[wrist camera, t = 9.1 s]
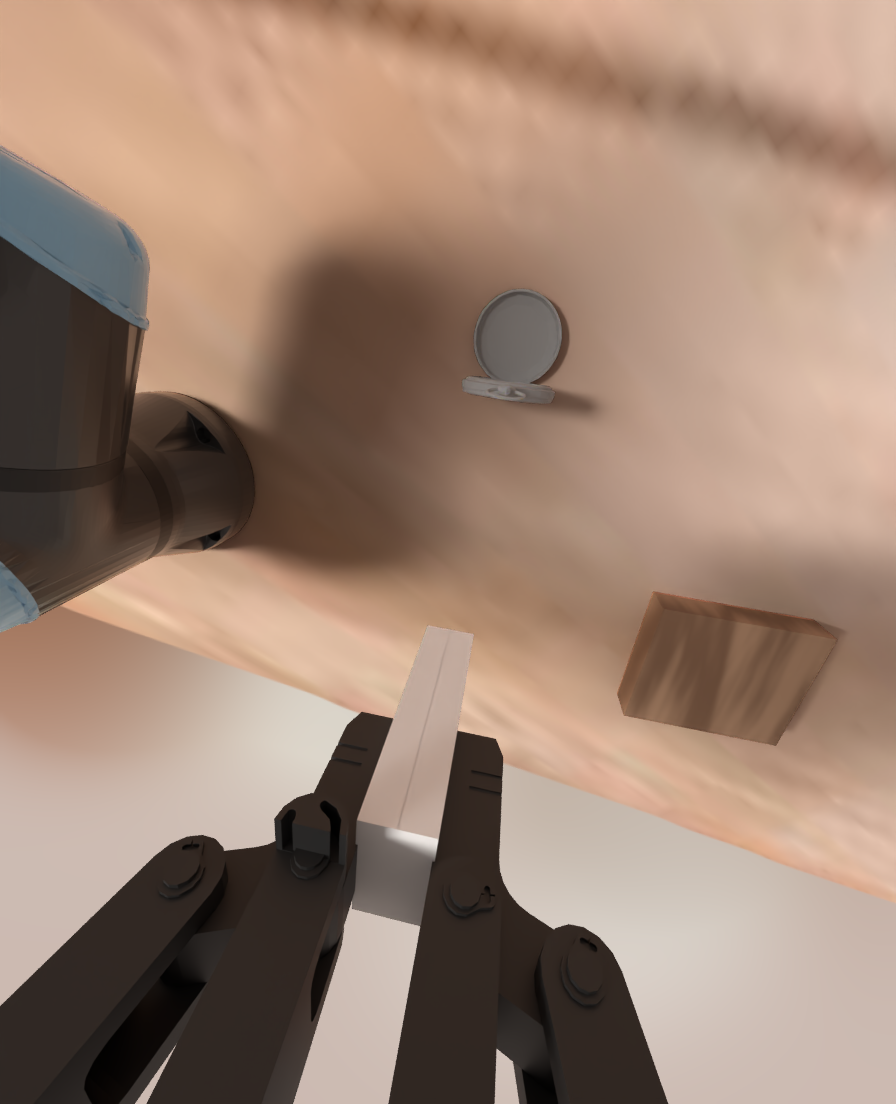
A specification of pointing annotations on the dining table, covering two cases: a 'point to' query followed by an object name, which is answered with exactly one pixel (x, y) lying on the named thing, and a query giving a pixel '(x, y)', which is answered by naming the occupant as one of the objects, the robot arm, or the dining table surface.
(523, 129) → the dining table surface
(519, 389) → the pocket watch
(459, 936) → the robot arm
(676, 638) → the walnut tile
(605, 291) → the dining table surface
